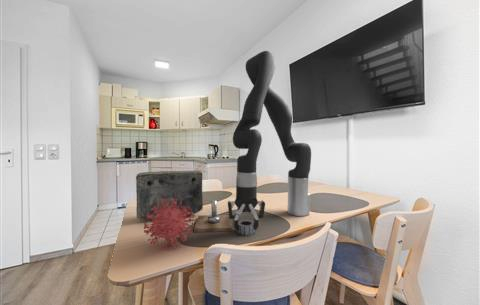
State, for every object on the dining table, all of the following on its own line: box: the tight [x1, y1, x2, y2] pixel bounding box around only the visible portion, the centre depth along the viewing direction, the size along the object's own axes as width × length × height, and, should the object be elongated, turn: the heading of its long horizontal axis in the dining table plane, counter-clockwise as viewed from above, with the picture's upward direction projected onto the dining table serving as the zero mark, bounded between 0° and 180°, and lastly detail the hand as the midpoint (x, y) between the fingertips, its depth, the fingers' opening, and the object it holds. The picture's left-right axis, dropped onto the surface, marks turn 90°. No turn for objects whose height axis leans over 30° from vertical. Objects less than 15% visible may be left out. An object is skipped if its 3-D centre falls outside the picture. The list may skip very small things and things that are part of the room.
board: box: [193, 214, 233, 233], centre depth 81 cm, size 14×14×1 cm
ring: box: [236, 219, 256, 237], centre depth 74 cm, size 6×6×3 cm
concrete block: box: [135, 169, 204, 220], centre depth 88 cm, size 27×9×20 cm, turn 110°
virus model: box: [143, 198, 195, 250], centre depth 63 cm, size 15×15×15 cm
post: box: [208, 199, 220, 224], centre depth 81 cm, size 5×5×8 cm
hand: (245, 229), depth 74 cm, fingers closed on ring, 6 cm apart
